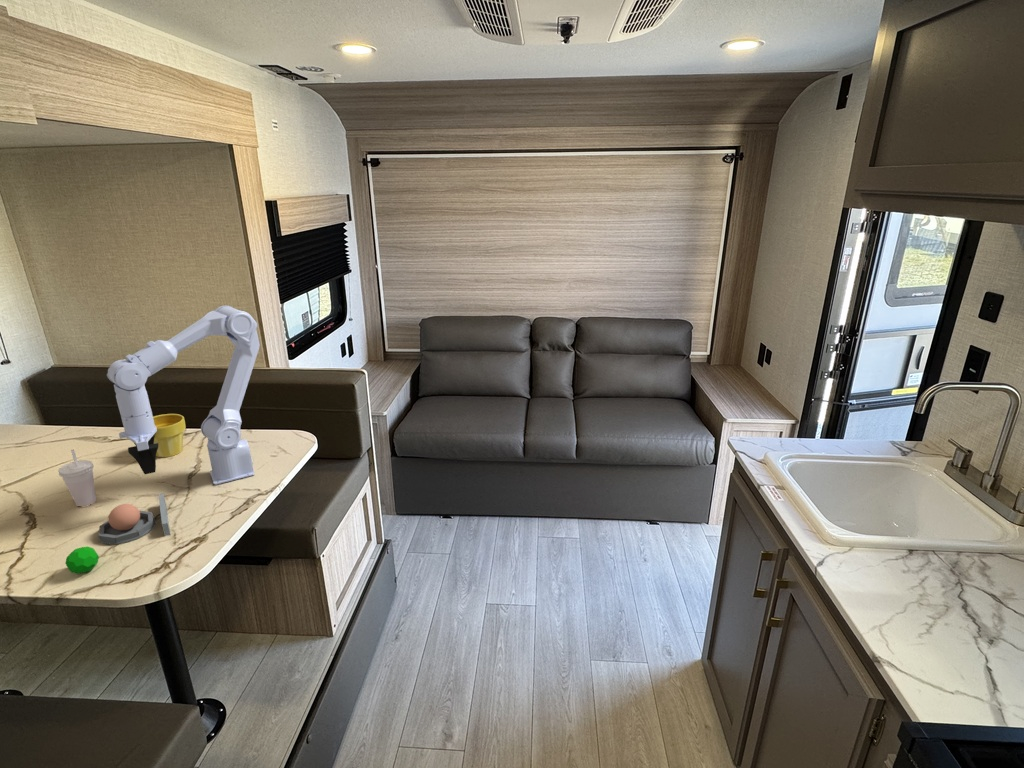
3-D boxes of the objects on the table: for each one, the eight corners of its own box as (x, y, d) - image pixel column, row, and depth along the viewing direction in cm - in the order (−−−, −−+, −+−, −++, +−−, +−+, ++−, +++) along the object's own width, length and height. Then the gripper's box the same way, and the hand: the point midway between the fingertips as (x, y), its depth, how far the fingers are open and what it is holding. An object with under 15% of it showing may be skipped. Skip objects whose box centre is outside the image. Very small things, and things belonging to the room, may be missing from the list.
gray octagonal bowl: (154, 510, 123) (153, 505, 122) (157, 533, 115) (155, 527, 114) (99, 525, 117) (97, 519, 117) (97, 550, 109) (95, 544, 109)
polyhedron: (93, 577, 102) (86, 556, 100) (64, 580, 101) (57, 559, 99) (106, 560, 107) (100, 540, 105) (78, 563, 106) (71, 543, 104)
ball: (142, 518, 120) (136, 496, 118) (143, 529, 115) (137, 507, 113) (112, 526, 117) (105, 504, 115) (111, 538, 112) (104, 516, 110)
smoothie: (84, 511, 122) (68, 457, 117) (62, 508, 123) (44, 454, 118) (109, 497, 128) (95, 445, 123) (87, 493, 129) (72, 442, 124)
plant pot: (184, 440, 157) (177, 410, 153) (195, 452, 150) (188, 420, 147) (143, 451, 150) (135, 420, 146) (153, 464, 143) (145, 431, 140)
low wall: (166, 504, 125) (163, 493, 124) (170, 534, 115) (167, 522, 114) (161, 505, 125) (158, 494, 124) (164, 536, 114) (162, 524, 113)
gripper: (114, 405, 122) (128, 457, 127) (114, 428, 111) (129, 484, 116) (150, 399, 126) (162, 450, 131) (153, 420, 115) (166, 475, 120)
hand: (149, 465), depth 124 cm, fingers open, 7 cm apart
